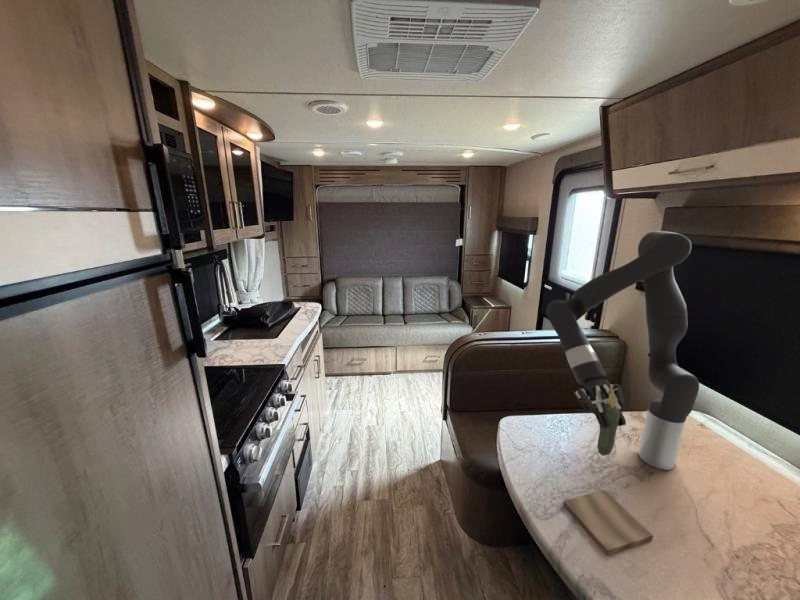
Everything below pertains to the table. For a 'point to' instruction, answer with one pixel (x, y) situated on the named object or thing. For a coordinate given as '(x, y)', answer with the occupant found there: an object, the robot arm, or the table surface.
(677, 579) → the table surface
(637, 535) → the cutting board
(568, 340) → the robot arm
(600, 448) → the vegetable
